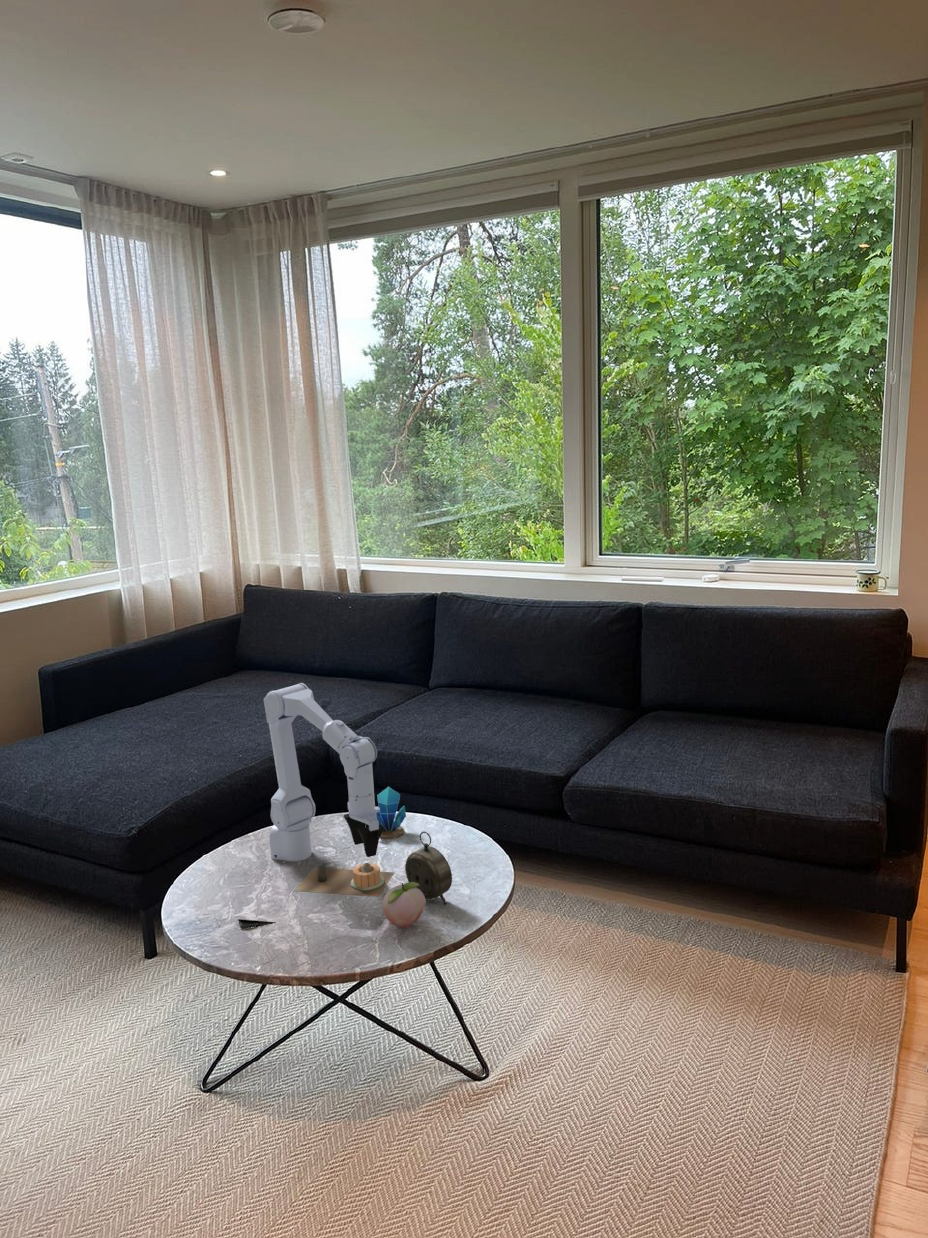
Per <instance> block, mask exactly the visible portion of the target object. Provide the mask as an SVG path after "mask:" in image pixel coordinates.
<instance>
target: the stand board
mask: <svg viewBox="0 0 928 1238" xmlns="http://www.w3.org/2000/svg"><path fill="white" fill-rule="evenodd" d="M362 864H363V866H362V873H368V872H371V871H372V870H371V865H370V864H369V862H364V863H362ZM394 874H395V872H391V871H380V877H381V880H380V883H379V884H377V885H376V886H372V887H368V888H362V887H358V886H356V885H355V884H354V881H353V869H346V868H345V869H344V868H333V867H332V868H331V867H330V868H328V867H327V865H326V863H325V862H318V863H317V864H316V867H315V866H314V867H312V869H311V870H310V871H309V872H308V873H307V875H306V876H305V877H304V878H303V879H302V881H301V882H300V883H299V884H298V885H297V886H296V887H295V889H294V890H293V891H294V892H306V893H321V894H334V895H349V896H360V897H361V896H362V897H372V898H373V897H374V898H375V897H377V898H379V896H380V894H381V893H382V892H383V891H384V889H385V887H386V885H387V884H388V883H389V882H390V880H391V878H392V877H393V875H394Z"/></svg>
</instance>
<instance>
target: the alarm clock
mask: <svg viewBox="0 0 928 1238" xmlns="http://www.w3.org/2000/svg"><path fill="white" fill-rule="evenodd" d="M423 834H426V835H427V836H428V838H429V844H428V843H424V842H423V841H422V835H423ZM419 841H420V843H421V844H422V845H423V846H422V847H420V848H419V849H417V850H415V851H413V852H412V853H410V854H409V855H408V856H407V858H406V860H405V865H404V867H405V868H404V869H405V870H404V872H405V875H406V879H407V883H408V882H416V883H418V884H419V885H420V886H417V888H418V889H420V890H421V891H422V893H423V894H424V896H425V900H435V899H437V898H438V897H440V899H441V901H442V903H443V905H444V906H445V905H447V903H448V902H447V901H446V898H445V896H444V894H445V893H447V892H449V890H450V889H451V887H452V882H453V874H452V870H451V866H450V864H449V862H448V860H447V858H446V857H445V856H444V854H442V852H441V851H440V850H438V849H437V848H435V847H433V846H431V843H432V837H431V835H430V833H429V832H426V831H421V832H420V834H419Z"/></svg>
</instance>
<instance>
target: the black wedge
mask: <svg viewBox="0 0 928 1238" xmlns="http://www.w3.org/2000/svg"><path fill="white" fill-rule="evenodd" d="M237 921H239V922H238V924H239V928H240V929H241V928H242V929H241V930H243V929H245V930H248V929H247V928H251V927H255V928H257V927H256V926H260V927H263V926H264V925H265V926H268V925H269V926H270V925H274V924H276V923H277V922H276V921H266V920H254V919H253V920H252V919H240V918H239V919H237ZM273 923H274V924H273ZM251 929H252V928H251Z"/></svg>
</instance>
